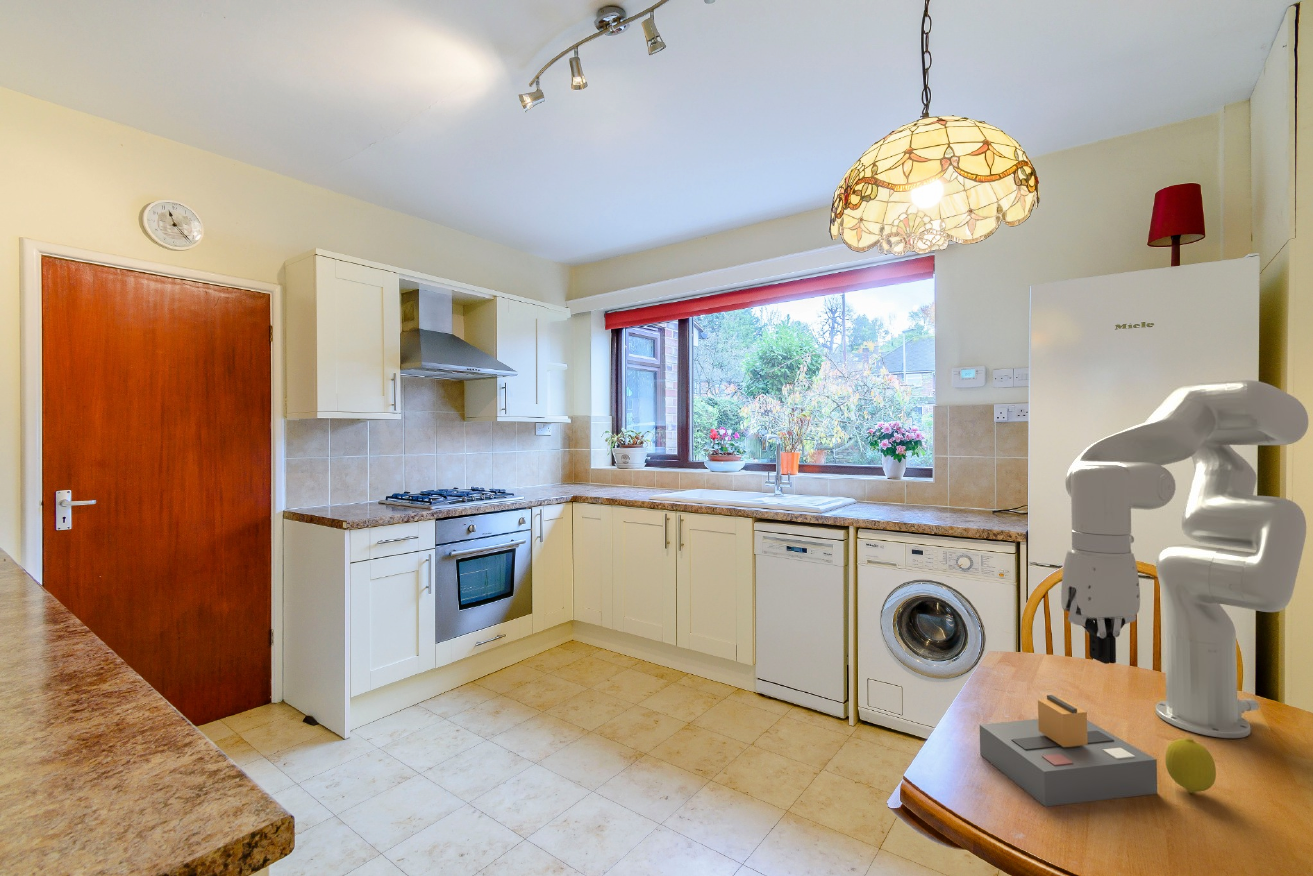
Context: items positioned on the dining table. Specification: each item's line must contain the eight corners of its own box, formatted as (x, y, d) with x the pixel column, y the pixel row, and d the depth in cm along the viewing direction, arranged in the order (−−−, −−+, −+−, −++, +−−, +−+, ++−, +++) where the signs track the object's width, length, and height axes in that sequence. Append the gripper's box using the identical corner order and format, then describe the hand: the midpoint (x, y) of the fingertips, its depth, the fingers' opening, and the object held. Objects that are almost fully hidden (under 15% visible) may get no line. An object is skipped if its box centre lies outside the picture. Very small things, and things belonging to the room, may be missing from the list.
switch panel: (1078, 744, 102) (1078, 713, 102) (1157, 793, 88) (1156, 758, 88) (980, 754, 99) (979, 723, 99) (1044, 806, 86) (1044, 770, 86)
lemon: (1156, 781, 91) (1154, 729, 91) (1193, 781, 90) (1192, 728, 90) (1187, 804, 85) (1186, 748, 85) (1227, 804, 85) (1226, 747, 85)
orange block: (1061, 728, 96) (1060, 694, 96) (1087, 744, 91) (1086, 708, 91) (1038, 731, 96) (1037, 696, 96) (1063, 747, 91) (1062, 710, 91)
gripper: (1122, 537, 99) (1123, 649, 99) (1039, 541, 97) (1040, 654, 97) (1166, 545, 91) (1168, 666, 91) (1077, 549, 89) (1079, 672, 90)
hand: (1102, 660), depth 94 cm, fingers closed
